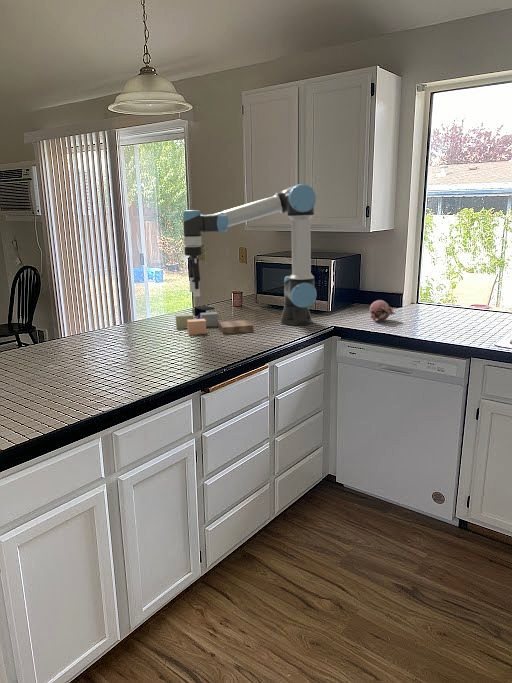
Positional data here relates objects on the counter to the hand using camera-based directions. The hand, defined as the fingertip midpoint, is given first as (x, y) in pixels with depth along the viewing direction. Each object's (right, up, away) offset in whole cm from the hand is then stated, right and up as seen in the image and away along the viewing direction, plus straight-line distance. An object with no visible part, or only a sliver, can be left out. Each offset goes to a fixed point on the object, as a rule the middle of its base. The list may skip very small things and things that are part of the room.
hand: (194, 294), depth 235 cm
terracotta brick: (0, -18, +4) cm, 18 cm away
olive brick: (-7, -15, +17) cm, 23 cm away
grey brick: (+5, -14, +19) cm, 24 cm away
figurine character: (+1, -11, +32) cm, 33 cm away
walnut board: (+18, -16, +9) cm, 25 cm away
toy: (+89, -12, +20) cm, 92 cm away
